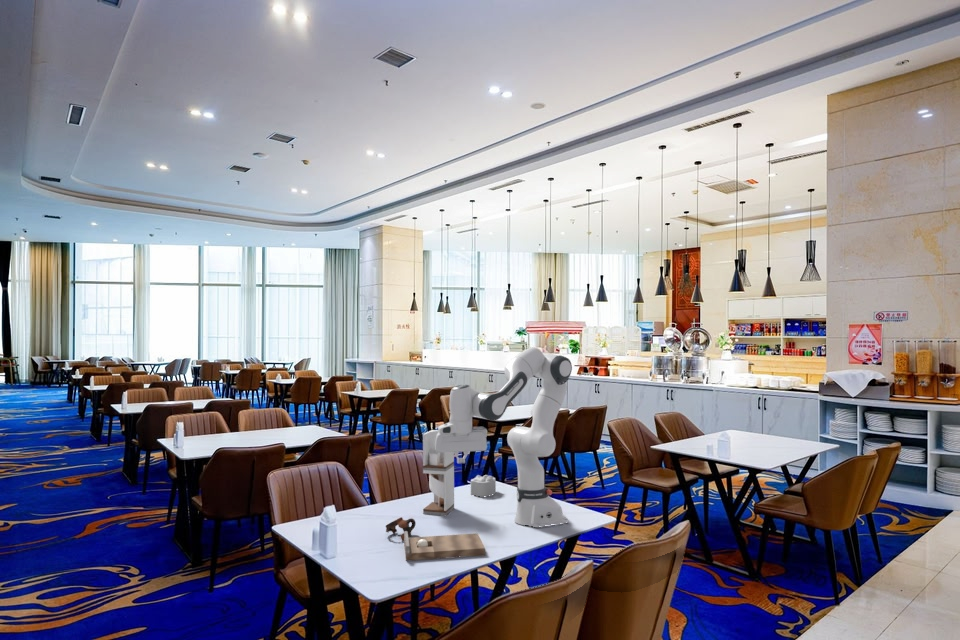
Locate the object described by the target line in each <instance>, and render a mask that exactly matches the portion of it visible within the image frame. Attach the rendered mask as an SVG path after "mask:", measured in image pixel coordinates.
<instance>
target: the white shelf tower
mask: <svg viewBox="0 0 960 640" xmlns="http://www.w3.org/2000/svg"><path fill="white" fill-rule="evenodd" d="M437 433H439V431H438V429H436V430H435V429H431V430H429V431H427V432H424V433H423V434H422V474H429V475H428V478H429V479H428V480H429V481H428V487H429V490H430V492H431V493H433V501H431V502H430V503H429V504H428V505H426V506H425V507H423V509H422V514H423V515H432V514H434V516H435V515H437V516H445V515H446V516H447V515H449V514H450V511H451V510H452V509H453V508H454V509H455V454H454V452H440V453H438V452H436V451H435V439H436V435H437ZM454 509H453V510H454ZM453 510H452V511H453ZM452 511H451V512H452Z"/></svg>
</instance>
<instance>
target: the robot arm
mask: <svg viewBox="0 0 960 640" xmlns="http://www.w3.org/2000/svg"><path fill="white" fill-rule="evenodd" d="M572 370H573V366H572V362H571V360H570V359H569V358H568V357H566V356H564V355H558V354H551V353H549V354H546V353H545V354H544V353H543V352H542V350H540V349H539V348H538V347H536V346H535V347H534V346H532V347H528V348H526V349H524V350H522V351H521V352H519V353H518V354H517V355H515V356H514V357H513V358H512V359H511V360H510V361H508V362H507V364H506V365H505V366H504V377H505V378H506V380H507V382H506V383H505V385H504V386H502V387H501V388H500V389H499V391H497V392H494V393H493V392H492V393H486V392H481V391H478V390H476V389H475V388H472V387H471V386H470V385H469V384H460V385H455V386H453V387H452V388H451V390H450V392H449V393H450V394H449V405H448V406H449V407H448V408H449V412H450V413H449V414H450V415H449V421H448V422H446V423H444V424H441V425H438V427H437V430H438V431H439V433H437V435H436V439H435V451H436V452H438V453H440V452H454V457H455V458H456V463H457V464H465V463H466V458H467V456H468V455H469V452H484V451H486V450H487V449H488V443H487V436H488V429H487V428H486V427H484V426H473V417H478V418H482V419H486V420H488V421H491V422H492V421H498V420H500V419H501V418H502V417H503V416H504V414H505V412H506V410H507V409H508V407H509V405H510V404H511V403H512V402H513V401H514V399H516V397H517V396H518V395H519V394H520V393H521V392H522V390H523V389H524V388H525V387H526V386H527V384H528V381H529V380H530V379H531V378H536V379H542V381H543V382H542V387H541V388H540V391H539V392H538V394H537V396H536V399H535V401H534V403H533V405H532V407H531V409H530V415H531V417H532V421H531V422H532V423H531V426H530V427H527V426H523V425H522V426H516V427H515V426H513V427H512V428H511V429H510V430H509V431H508V433H507V437H506V441H507V444H508V446H509V447H510V449H511V451H512V453H513V456H514V459H515V464H516V468H517V487H516V500H517V505H516V513H515V516H514V522H515V523H516V524H517V525H518V524H519V525H521V526H525V525H529V526H528V527H531V526H533V527H532V528H534V527H539V526H545V525H551V524H560V523H566V522H568V523H569V518H568V517H567V516H566V515H565V514H563V513H564V512H563V509H562V506H561V504H559V502H557V501H556V500H555V499H554V498H552V497H551V495H552V494H553V491H552V490H551V489H549V488H548V487H546V486H545V469H544V466H543V465H542V463H541V462H540V460H539V458H544V457H550V456H551V455H552V454H553V453H554V452H555V449H556V446H557V445H556V444H557V443H556V439H555V437H554V426H555V421H556V419H557V417H558V414H559V412H560V410H561V407H562V405H563V403H564V400H565V397H566V393H567V389H568V386H567V382H568V380H569V378H570V376H571V374H572ZM461 452H463V457H459V456H458V455H459V453H461Z"/></svg>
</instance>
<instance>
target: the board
mask: <svg viewBox="0 0 960 640" xmlns="http://www.w3.org/2000/svg"><path fill="white" fill-rule="evenodd" d="M403 533H404V540H403V543H404V544H403V546H404V554H405V562H406V561H407V560H412V561H421V560H420V559H426V560H435V559H436V560H437V558H440V559H447V558H446V557H454V558H460V557H459V556H468V557H479V556H481V557H482V556H486V548H485V545H484V543H483V541H482V538H481V537H480V535H479V533H477V532H476V533H461V534H447V535H446V534H445V535H431V536H416V537H413V536H411V537H409V538H408V532H407V531H403ZM421 539H425V540H426V541H427V542H428V547H417V543H418V541H419V540H421ZM407 562H408V561H407Z"/></svg>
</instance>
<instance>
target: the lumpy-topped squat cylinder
mask: <svg viewBox="0 0 960 640" xmlns="http://www.w3.org/2000/svg"><path fill="white" fill-rule="evenodd" d="M496 485H497V483H496V477H494V476H492V475H488V474H485V475H483V476H481V475H479V474H477V475H476V476H475V477H474V478H471V479H470V496H472V495H476V496H475V497H477V496H480V497H479V498H481V497H484V496H489V495H492V494H495V495H496V493H495V492H497V491H496ZM489 497H490V496H489ZM484 498H485V497H484Z"/></svg>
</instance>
